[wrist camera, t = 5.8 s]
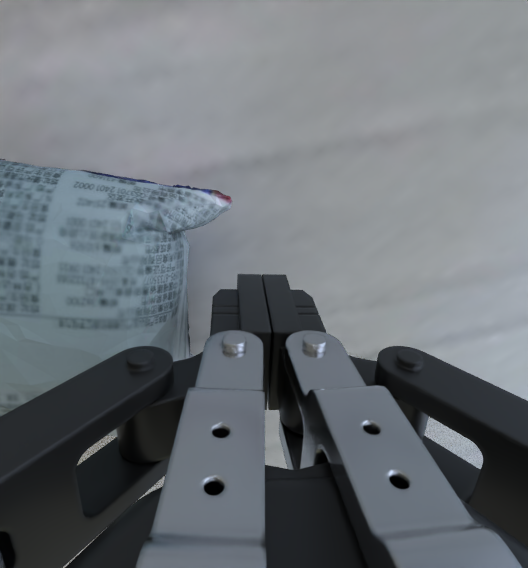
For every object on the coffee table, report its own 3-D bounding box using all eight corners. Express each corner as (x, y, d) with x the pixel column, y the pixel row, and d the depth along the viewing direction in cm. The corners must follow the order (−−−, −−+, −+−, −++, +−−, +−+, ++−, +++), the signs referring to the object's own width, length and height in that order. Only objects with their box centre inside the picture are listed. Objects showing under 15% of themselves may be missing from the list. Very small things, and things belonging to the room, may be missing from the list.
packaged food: (195, 399, 17) (185, 511, 12) (-150, 364, 15) (-315, 480, 10) (232, 173, 13) (238, 210, 9) (-202, 92, 12) (-477, 86, 7)
